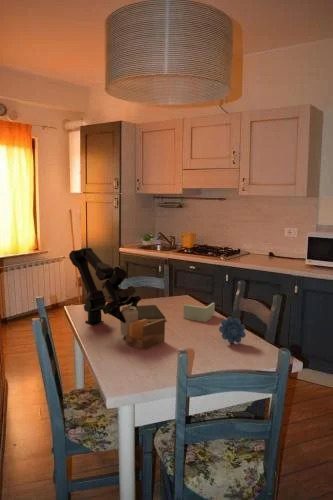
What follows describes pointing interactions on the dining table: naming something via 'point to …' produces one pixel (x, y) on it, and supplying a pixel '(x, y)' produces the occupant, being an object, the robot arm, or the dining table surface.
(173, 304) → the dining table surface
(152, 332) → the brown wooden crate
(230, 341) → the grapes
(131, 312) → the can
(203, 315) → the right angle wall
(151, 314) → the hardcover book
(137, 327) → the pusher
